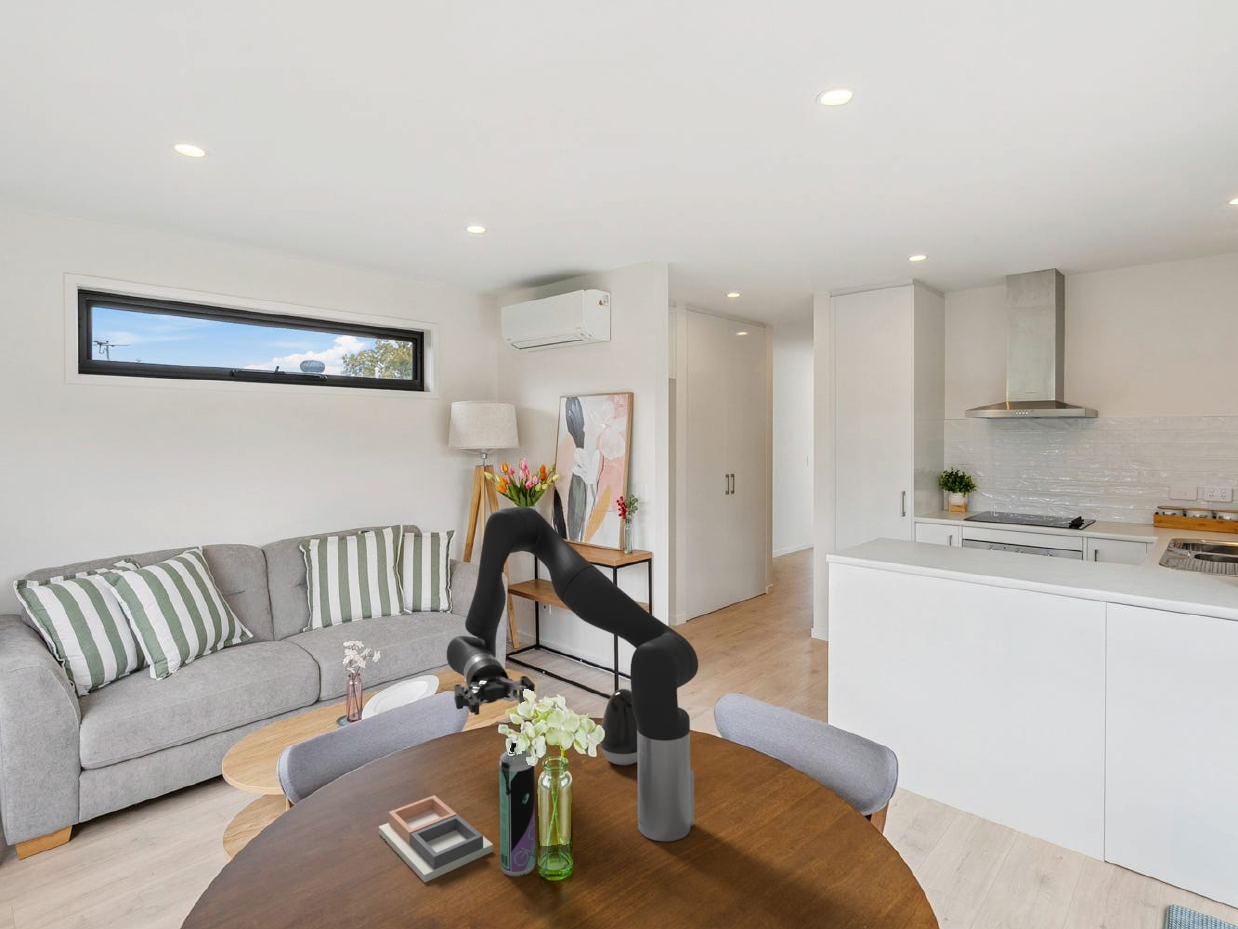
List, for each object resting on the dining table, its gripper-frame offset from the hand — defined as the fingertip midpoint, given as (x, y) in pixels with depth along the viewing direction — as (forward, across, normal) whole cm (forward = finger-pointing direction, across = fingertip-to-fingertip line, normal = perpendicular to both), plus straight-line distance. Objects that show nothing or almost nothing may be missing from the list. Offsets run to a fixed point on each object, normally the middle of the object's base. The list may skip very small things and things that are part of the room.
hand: (502, 705), depth 116 cm
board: (-1, -12, +22) cm, 25 cm away
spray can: (+11, 0, +22) cm, 25 cm away
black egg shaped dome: (-16, +30, +22) cm, 40 cm away
